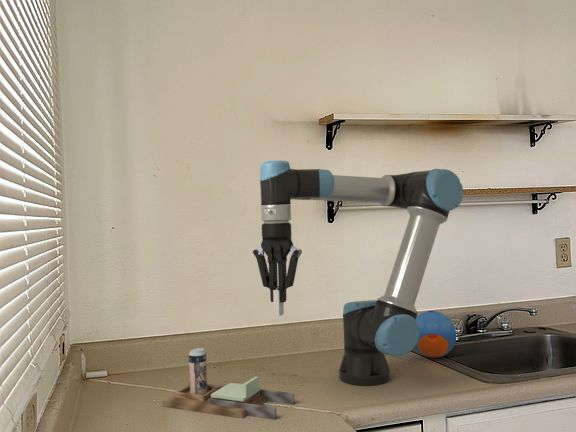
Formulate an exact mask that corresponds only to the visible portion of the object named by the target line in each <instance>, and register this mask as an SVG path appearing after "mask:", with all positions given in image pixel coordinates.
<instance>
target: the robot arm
mask: <svg viewBox="0 0 576 432" xmlns="http://www.w3.org/2000/svg"><path fill="white" fill-rule="evenodd" d="M290 165H291V164H290V162H289V161H287V160H267V161H264V162H262V163H260V169H259V183H260V186H259V187H260V208H261V209H260V212H261V213H260V215H261V218H260V219H261V221H262V222H263V223H262V224H261V238H262V241H261V244H260V247H258V248H256V249H254V250H252V253H253V255H254V257H255V258H256V262H257V265H258V270H259V271H258V272H259V274H260V279H261V282H262V286H263V287H265V288H268V289H269V291H270V292H269V295H270V297H269V298H270V302H271V303H273V316H274V317H280V316H283V315H285V310H284V307H285V306H284V304H285V303H286V301H287V289H289V288H291V287H293V286H294V283H295V277H296V272H297V267H298V263H299V262H298V261H299V258H300V256H301V255H302V253H303V251H302V249H300V248H297V247H295V246H294V243H293V240H292V224H291V222H289V221H291V220H292V209H291V208H292V207H291V204H292V203H291V200H294V201H295V200H297V201H299V200H300V201H306V200H307V201H326V202H329V201H330V202H352V203H376V204H380V205H381V206H383V207H391V208H392V207H393V208H400V209H404V210H405V209H406V210H407V212H408V214H409V218H408V221H407V224H406V227H405V231H404V234H403V237H402V240H401V243H400V246H399V250H398V252H397V255H396V258H395V260H394V264H393V268H392V270H391V273H390V277H389V280H388V283H387V286H386V289H385V292H384V295H382V296H380V297H378V298H376V299H377V300H374V299H373V300H359V301H357V300H356V301H349V302H346V303H345V304H344V305H343V308H342V309H343V310H342V318H343V319H342V322H343V324H342V325H343V347H344V348H343V349H344V350H343V355H342V359H341V362H340V366H339V368H338V369H339V370H338V378H339V380H340V381H341V382H343V383H346V384H349V385H357V386H375V385H376V386H377V385H381V384H385V383H387V382H389V381H390V380H391V371H390V367H389V365H388V362H387V359H386V356H391V357H402V356H405V355H407V354H409V353H410V352H411V351H412V350H414V347H415V346H416V344H417V342H418V339H419V335H420V329H419V328H418V323H417V322H416V317H417V316H418V313H419V312H418V310H417V307H415V304H416V301H417V298H418V294H419V292H420V288H421V284H422V282H423V280H424V279H423V278H424V275H425V271H426V269H427V266H428V263H429V261H430V256H431V255H432V254H431V253H432V250H433V246H434V244H435V241H436V238H437V234H438V231H439V228H440V225H442V224H445V223H446V222H447V221H448V217H449V214H450V211H453V210H455V209H456V208H458V207H459V206H460V205H461V203H462V201H463V198H464V197H463V196H464V188H463V184H462V183H461V181H460V178H459V176H458V175H457V174H456V173H455V172H454V171H452V170H451V169H450V170H449V169H448V168H447V169H445V168H434V169H430V170H422V171H421V170H420V171H412V172H405V173H401V174H400V173H399V174H384V175H383V176H381V177H375V176H374V177H371V176H355V175H352V176H351V175H337V174H336V175H335V174H333V172H331V171H330V170H328V169H320V168H315V169H314V168H308V169H304V168H303V169H296V168H294V169H293V168H291V166H290ZM289 254H290V258H289V261H288V259H287V258H288V255H289ZM265 255H266V256H267V258H266V256H265ZM266 259H267V260H266ZM287 261H288V268H287ZM267 263H268V264H267Z"/></svg>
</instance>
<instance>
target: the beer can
mask: <svg viewBox="0 0 576 432" xmlns="http://www.w3.org/2000/svg"><path fill="white" fill-rule="evenodd" d="M207 366H208V365H207V351H206V349H205V348H202V347H197V348H192V349H190V350H189V353H188V371H189V373H188V375H189V377H188V379H189V385H190V394H196V395H204V394H205V393H207V384H208V374H207V373H208V371H207V368H208V367H207Z"/></svg>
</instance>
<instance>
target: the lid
mask: <svg viewBox="0 0 576 432" xmlns="http://www.w3.org/2000/svg"><path fill="white" fill-rule="evenodd" d="M259 378H260V377H259V376H254V377H252V378H251V379H249V380H248V381H246V382H244V383H236V382H230V383H228V384H226V385H223V386H224V387H222V388H221V389H219V390H217V391H215V392H214V393H212V394H211V397H213V398H221V399H228V400H236V401H243V402H244V401H245V400H247V399H248V398H249V397H251V396H252V395H254V394H255V393H257V392H258V391H260V390H261V389H262V386H260V383H259V382H260V381H259Z"/></svg>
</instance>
